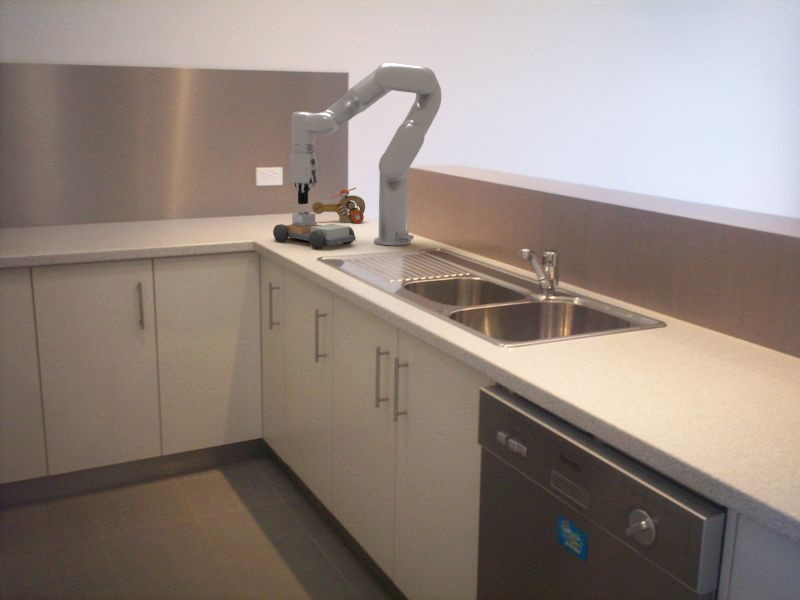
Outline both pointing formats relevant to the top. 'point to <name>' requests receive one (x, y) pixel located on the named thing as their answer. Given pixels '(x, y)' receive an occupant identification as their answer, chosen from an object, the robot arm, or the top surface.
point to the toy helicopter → (343, 207)
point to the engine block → (303, 219)
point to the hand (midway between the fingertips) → (303, 203)
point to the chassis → (316, 234)
